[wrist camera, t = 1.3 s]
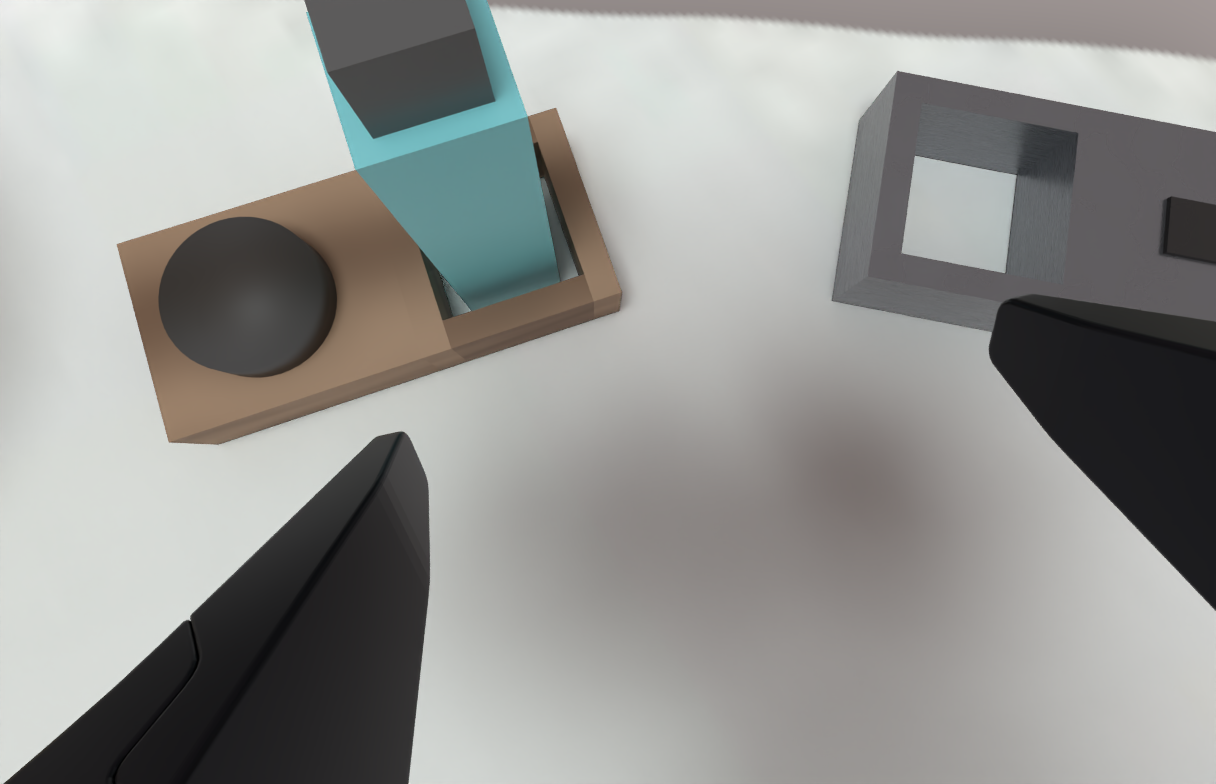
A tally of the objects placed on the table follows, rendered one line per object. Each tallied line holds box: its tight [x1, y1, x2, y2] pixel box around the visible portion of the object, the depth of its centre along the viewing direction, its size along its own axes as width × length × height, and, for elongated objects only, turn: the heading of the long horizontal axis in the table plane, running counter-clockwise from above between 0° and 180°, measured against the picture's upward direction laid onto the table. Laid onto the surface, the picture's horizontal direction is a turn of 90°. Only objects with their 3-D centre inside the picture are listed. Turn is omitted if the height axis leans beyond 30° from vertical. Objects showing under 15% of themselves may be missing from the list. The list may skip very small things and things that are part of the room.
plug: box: [305, 0, 560, 311], centre depth 16 cm, size 4×4×13 cm
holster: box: [117, 108, 622, 445], centre depth 21 cm, size 7×16×4 cm, turn 109°
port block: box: [832, 71, 1216, 331], centre depth 22 cm, size 8×17×3 cm, turn 79°
